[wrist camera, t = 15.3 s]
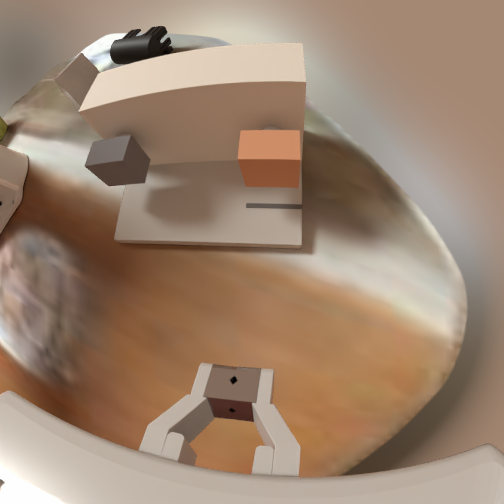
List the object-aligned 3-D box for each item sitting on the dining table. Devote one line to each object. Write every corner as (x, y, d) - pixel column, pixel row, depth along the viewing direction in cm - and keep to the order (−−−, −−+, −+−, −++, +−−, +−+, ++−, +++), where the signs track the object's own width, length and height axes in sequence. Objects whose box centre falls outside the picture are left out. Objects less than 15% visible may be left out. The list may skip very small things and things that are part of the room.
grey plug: (145, 183, 28) (122, 160, 23) (108, 186, 29) (84, 166, 24) (153, 148, 29) (134, 123, 25) (118, 153, 30) (97, 130, 25)
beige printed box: (110, 86, 42) (86, 53, 32) (85, 112, 41) (58, 80, 31) (100, 84, 43) (77, 52, 33) (77, 109, 42) (51, 78, 32)
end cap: (119, 72, 43) (104, 50, 36) (137, 50, 44) (126, 28, 38) (157, 70, 41) (144, 44, 34) (176, 48, 42) (165, 23, 36)
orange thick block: (298, 187, 26) (300, 159, 21) (245, 186, 27) (237, 159, 22) (298, 148, 27) (299, 117, 22) (249, 148, 28) (242, 117, 23)
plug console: (300, 248, 30) (311, 191, 17) (120, 242, 33) (44, 201, 20) (300, 129, 34) (302, 43, 20) (144, 137, 37) (98, 73, 23)
